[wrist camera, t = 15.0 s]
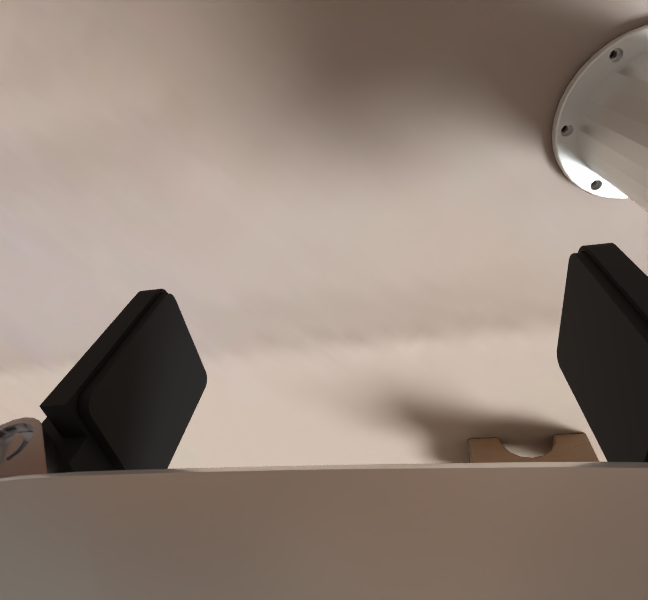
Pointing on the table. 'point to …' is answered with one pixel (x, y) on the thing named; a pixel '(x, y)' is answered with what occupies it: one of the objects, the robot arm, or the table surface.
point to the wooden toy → (562, 451)
